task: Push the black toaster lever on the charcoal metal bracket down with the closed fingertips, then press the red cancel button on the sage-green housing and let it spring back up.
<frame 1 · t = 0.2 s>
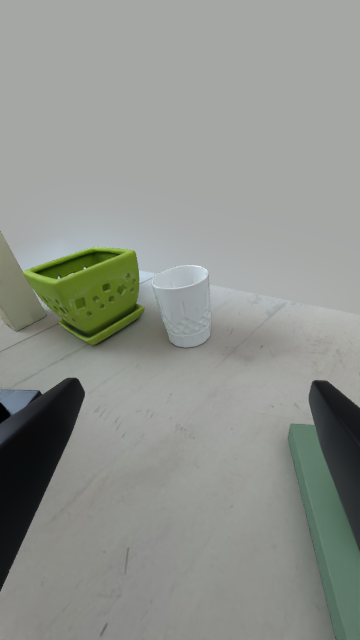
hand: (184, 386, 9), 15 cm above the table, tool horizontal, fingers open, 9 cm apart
white cup: (189, 335, 36), on the table
toy refrigerator: (28, 319, 51), on the table
flower pot: (104, 325, 43), on the table
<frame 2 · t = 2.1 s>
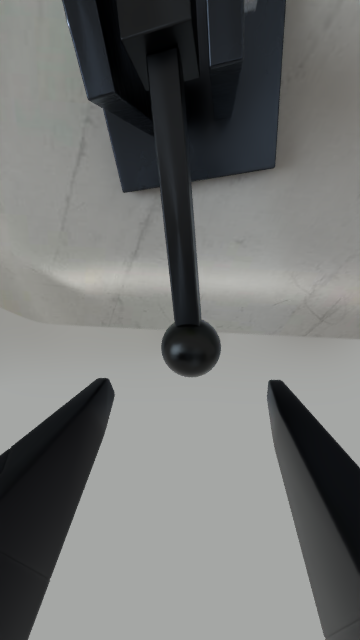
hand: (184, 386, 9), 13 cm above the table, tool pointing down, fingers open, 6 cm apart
toaster lever: (178, 208, 9), point 9 cm above the table, hinge at 15.0°
toaster bracket: (186, 80, 13), on the table
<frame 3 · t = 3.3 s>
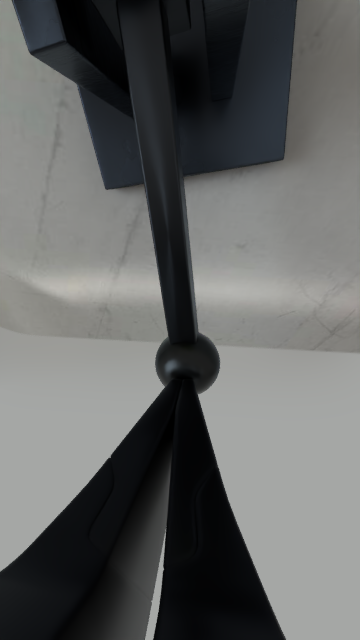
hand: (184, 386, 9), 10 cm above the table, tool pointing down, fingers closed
toaster lever: (168, 211, 7), point 8 cm above the table, hinge at 8.0°
toaster bracket: (177, 54, 11), on the table
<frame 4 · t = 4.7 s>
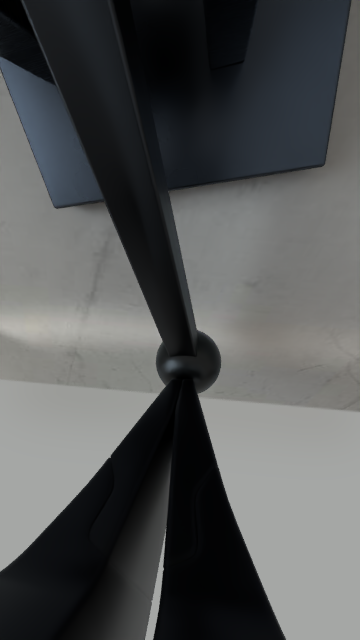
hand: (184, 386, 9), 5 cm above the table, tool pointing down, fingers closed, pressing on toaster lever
toaster lever: (150, 234, 5), point 5 cm above the table, hinge at -18.2°, touching gripper
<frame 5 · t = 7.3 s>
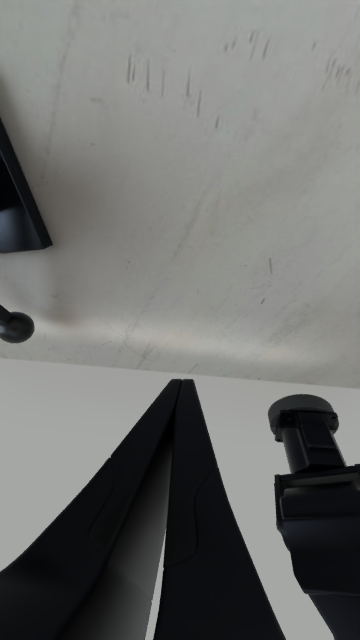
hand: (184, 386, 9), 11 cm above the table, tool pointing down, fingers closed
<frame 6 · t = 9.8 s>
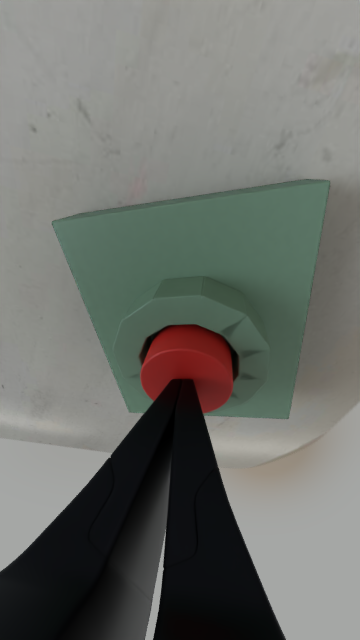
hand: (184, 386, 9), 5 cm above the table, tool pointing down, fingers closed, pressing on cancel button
button housing: (196, 316, 13), on the table
cancel button: (187, 369, 9), point 4 cm above the table, slide at -0.2 cm, touching gripper
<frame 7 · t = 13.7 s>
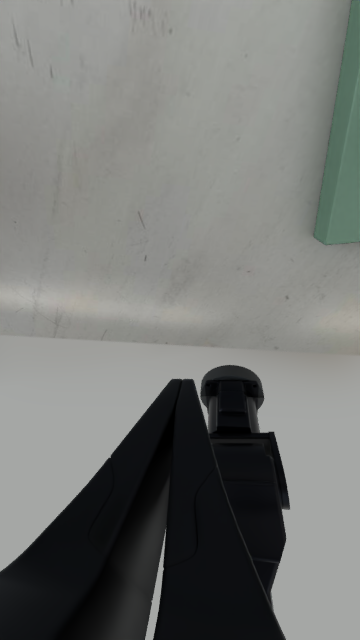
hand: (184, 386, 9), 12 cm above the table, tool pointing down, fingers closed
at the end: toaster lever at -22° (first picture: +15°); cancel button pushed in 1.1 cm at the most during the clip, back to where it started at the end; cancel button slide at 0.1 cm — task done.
